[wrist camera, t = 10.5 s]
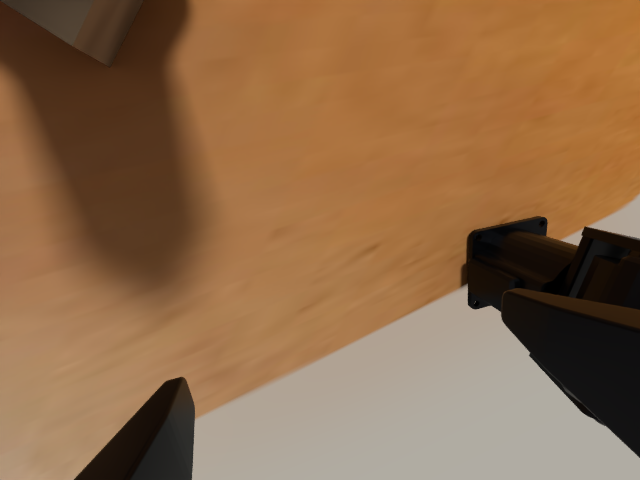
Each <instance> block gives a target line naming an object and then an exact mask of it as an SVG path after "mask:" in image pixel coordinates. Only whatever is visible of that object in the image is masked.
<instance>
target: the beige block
mask: <svg viewBox="0 0 640 480" xmlns="http://www.w3.org/2000/svg"><path fill="white" fill-rule="evenodd" d="M0 1H1V2H3V3H4V4H6V5H8V6H9V7H11V8H12V9H14V10H16V11H17V12H19V13H20V14H22V15H24V16H25V17H27V18H28V19H30V20H31V21H33V22H35V23H36V24H38V25H39V26H41V27H43V28H44V29H46V30H47V31H49V32H51V33H52V34H54V35H55V36H57V37H59V38H60V39H62V40H63V41H65V42H66V43H68V44H70V45H71V46H73V47H75V48H76V49H78V50H80V51H82V52H84V53H85V54H87V55H89V56H91V57H92V58H94V59H96V60H98V61H99V62H101V63H103V64H105V65H107V66H108V67H111V65H112V63H113V61H114V59H115V57H116V55H117V53H118V51H119V49H120V47H121V45H122V43H123V41H124V39H125V37H126V35H127V33H128V31H129V29H130V27H131V25H132V23H133V21H134V19H135V17H136V15H137V13H138V11H139V9H140V7H141V5H142V3H143V1H144V0H0Z"/></svg>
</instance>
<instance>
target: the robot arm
mask: <svg viewBox="0 0 640 480" xmlns="http://www.w3.org/2000/svg"><path fill="white" fill-rule="evenodd" d="M539 223H540V224H539ZM546 232H547V219H546V218H545V217H541V216H537V217H532V218H528V219H523V220H519V221H514V222H509V223H505V224H500V225H496V226H491V227H487V228H482V229H477V230H474V231H472V232H471V233H470V235H469V262H468V305H469V306H470V307H471V308H472V309H479V308H483V307H487V306H493V307H494V308H496V309H498V310H499V311H500V312H501V317H502V320H503V322H504V324H505V325H506V326H507V327H508V328H509V330H510V331H511V332H512V333H513V334H514V335H515V336H516V337H517V338H518V340H519V341H520V342H521V343H522V344H523V345H524V346H525V347H526V348H527V350H528V351H529V352H530V355H529V356H530V357H531V358H532V359H533V360H534V361H535V362H536V363H537V364H538V366H539V367H540V368H541V369H542V370H543V371H544V372H545V373H546V374H547V375H548V376H549V378H550V379H551V380H552V381H553V382H554V383H555V384H556V385H557V386H558V387H559V388H560V389H561V390H562V391H563V392H564V394H565V395H566V396H567V397H568V398H569V399H570V400H571V401H572V402H573V403H574V404H575V405H576V406H577V407H578V408H579V409H580V411H581V412H582V413H584V414H585V415H587V416H589V417H591V418H593V419H595V420H596V421H597V422H598V423H600V424H602V425H604V426H606V427H608V428H609V429H610V430H611V431H612V432H613V433H614V434H615V435H616V436H617V437H618V438H619V439H620V440H622V442H624V443H625V444H626V445H627V446H628V447H629V448H630V449H631V450H632V451H633V452H634V453H635V454H636V455H637V456H638V457H639V458H640V239H639V238H635V237H630V236H625V235H621V234H616V233H612V232H607V231H603V230H598V229H594V228H589V227H584V230H583V232H582V236H583V237H582V239H581V241H580V244H579V246H576V245H573V244H570V243H566V242H563V241H560V240H556V239H553V238H550V237H547V236H546ZM477 235H478V238H477V239H476V236H477ZM474 303H475V304H474ZM194 422H195V407H194V402H193V399H192V396H191V393H190V390H189V387H188V384H187V381H186V379H185V378H184V377H179V378H175V379H171V380H168V381H166V382H165V383H163V384H162V386H161V387H160V388H159V389H158V390H157V391H156V392H155V393H154V394H153V395H152V396H151V397H150V398H149V400H148V401H147V402H146V403H145V404H144V405H143V406H142V407H141V408H140V409H139V410H138V411H137V412H136V413H135V415H134V416H133V417H132V418H131V419H130V420H129V421H128V422H127V423H126V424H125V425H124V426H123V427H122V429H121V430H120V431H119V432H118V433H117V434H116V435H115V436H114V437H113V438H112V439H111V440H110V441H109V442H108V444H107V445H106V446H105V447H104V448H103V449H102V450H101V451H100V452H99V453H98V454H97V455H96V456H95V458H94V459H93V460H92V461H91V462H90V463H89V464H88V465H87V466H86V467H85V468H84V469H83V470H82V471H81V473H80V474H79V475H78V476H77V477H76V478H75V479H74V480H192V466H193V444H194Z"/></svg>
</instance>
